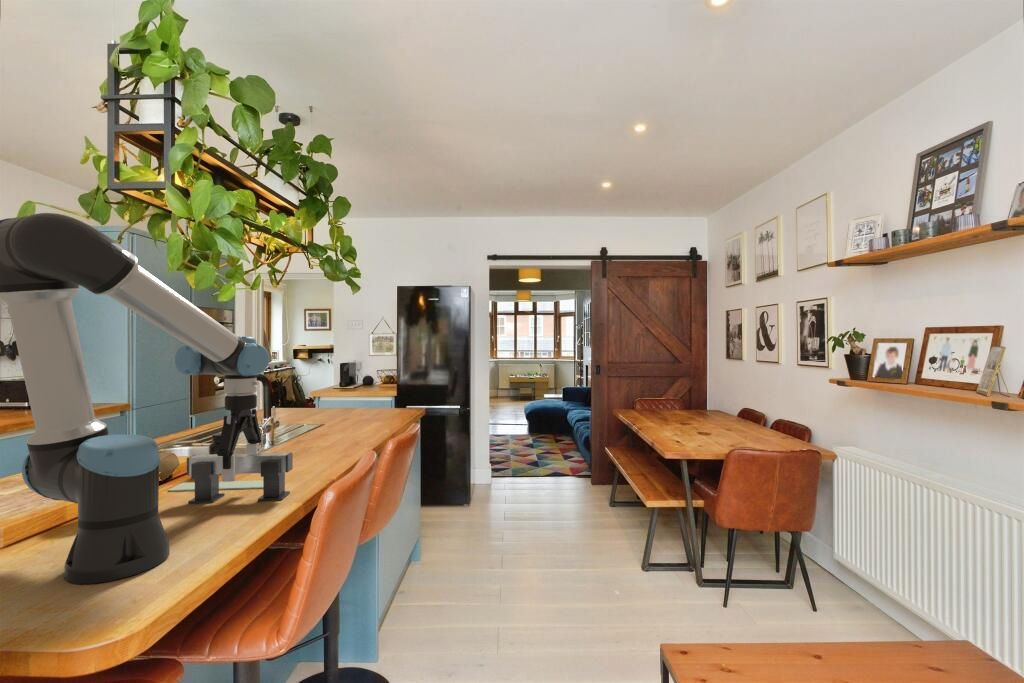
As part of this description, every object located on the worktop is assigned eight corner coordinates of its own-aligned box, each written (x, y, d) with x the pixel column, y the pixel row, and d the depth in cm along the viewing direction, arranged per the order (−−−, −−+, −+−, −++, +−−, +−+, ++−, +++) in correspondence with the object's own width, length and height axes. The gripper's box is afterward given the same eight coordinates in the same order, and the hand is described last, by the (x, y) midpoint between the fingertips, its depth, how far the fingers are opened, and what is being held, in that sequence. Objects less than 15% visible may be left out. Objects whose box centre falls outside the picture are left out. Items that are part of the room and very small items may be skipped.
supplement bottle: (212, 469, 158) (212, 432, 158) (235, 467, 160) (235, 431, 160) (205, 474, 151) (205, 436, 151) (230, 472, 153) (230, 435, 153)
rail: (287, 472, 127) (287, 455, 127) (186, 475, 125) (186, 457, 125) (292, 468, 131) (292, 452, 131) (194, 471, 128) (194, 454, 128)
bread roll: (185, 472, 155) (185, 447, 155) (169, 484, 141) (169, 457, 141) (150, 474, 152) (150, 449, 152) (129, 488, 137) (129, 460, 137)
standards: (281, 500, 126) (281, 461, 126) (188, 503, 123) (188, 464, 123) (290, 493, 132) (290, 456, 132) (201, 496, 130) (201, 458, 130)
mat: (272, 488, 137) (272, 486, 137) (167, 491, 134) (167, 490, 134) (282, 481, 144) (282, 479, 144) (182, 484, 141) (182, 482, 141)
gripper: (233, 399, 116) (233, 487, 116) (273, 389, 141) (273, 462, 140) (200, 399, 115) (200, 488, 115) (246, 389, 140) (246, 462, 140)
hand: (240, 474), depth 128 cm, fingers open, 13 cm apart
